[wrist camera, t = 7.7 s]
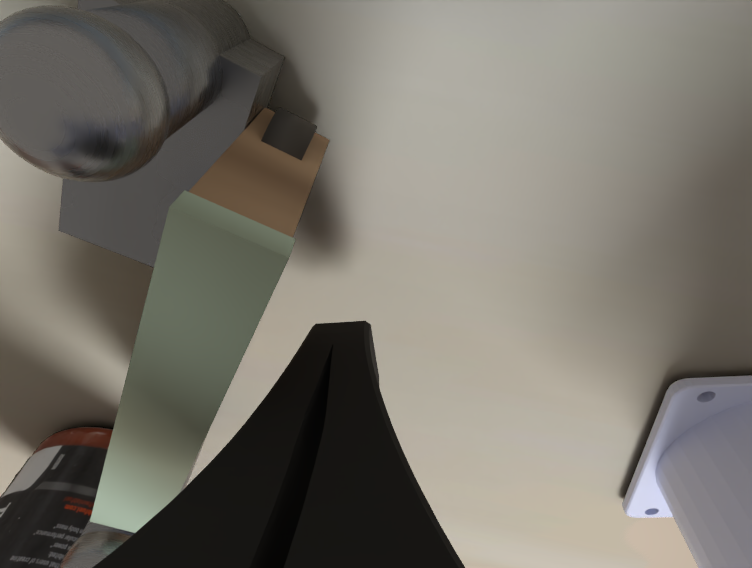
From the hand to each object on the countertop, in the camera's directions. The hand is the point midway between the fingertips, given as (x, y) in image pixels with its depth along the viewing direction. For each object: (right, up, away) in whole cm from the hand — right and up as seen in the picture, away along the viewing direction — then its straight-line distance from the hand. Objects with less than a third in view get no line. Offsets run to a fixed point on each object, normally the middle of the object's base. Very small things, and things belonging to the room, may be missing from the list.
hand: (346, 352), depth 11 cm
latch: (-4, +5, -1) cm, 6 cm away
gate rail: (-3, +2, +1) cm, 4 cm away
